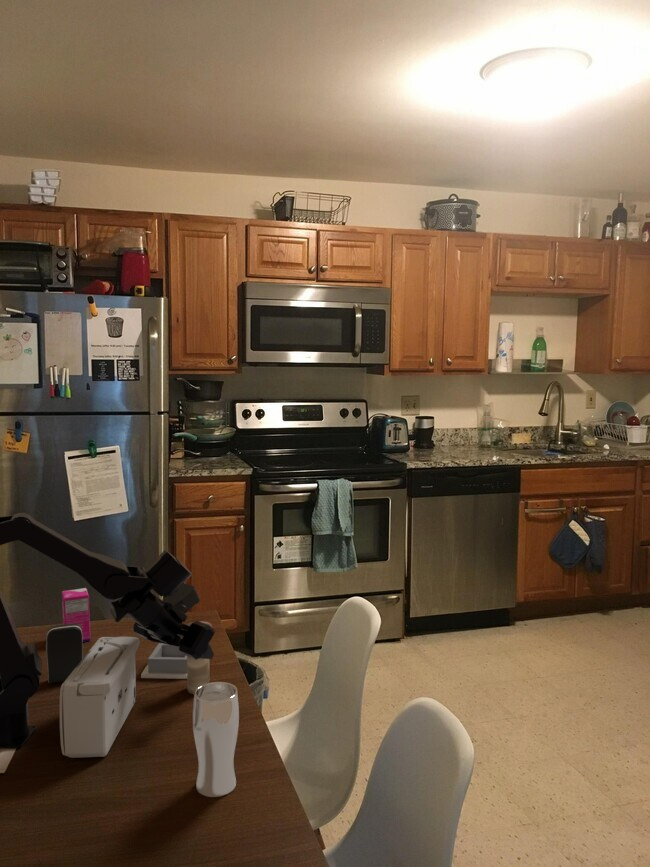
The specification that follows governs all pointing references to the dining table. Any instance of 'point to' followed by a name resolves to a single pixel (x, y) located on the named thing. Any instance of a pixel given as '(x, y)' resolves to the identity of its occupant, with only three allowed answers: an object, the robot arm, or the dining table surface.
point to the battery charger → (63, 651)
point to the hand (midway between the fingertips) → (197, 650)
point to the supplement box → (77, 610)
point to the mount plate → (166, 663)
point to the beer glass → (215, 737)
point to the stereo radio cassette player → (98, 697)
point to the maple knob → (197, 671)
